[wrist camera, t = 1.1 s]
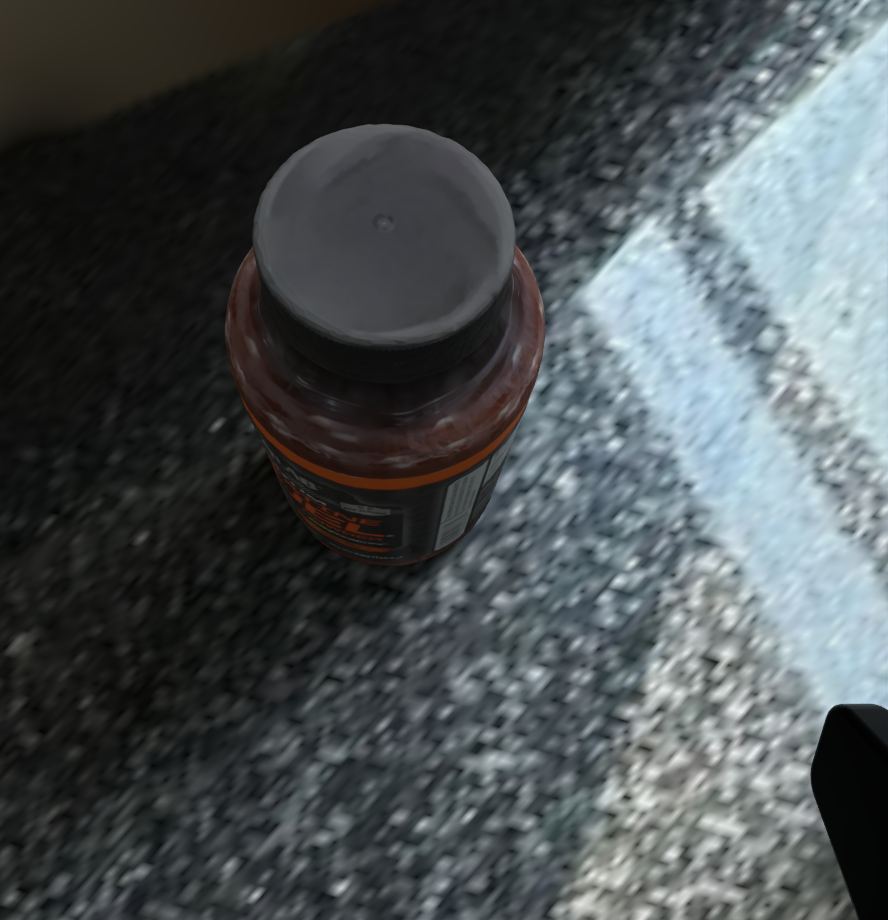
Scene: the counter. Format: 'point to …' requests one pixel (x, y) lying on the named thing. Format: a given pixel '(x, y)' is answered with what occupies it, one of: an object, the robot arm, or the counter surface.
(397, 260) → the supplement bottle
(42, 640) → the counter surface
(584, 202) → the counter surface
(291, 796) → the counter surface
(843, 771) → the robot arm
